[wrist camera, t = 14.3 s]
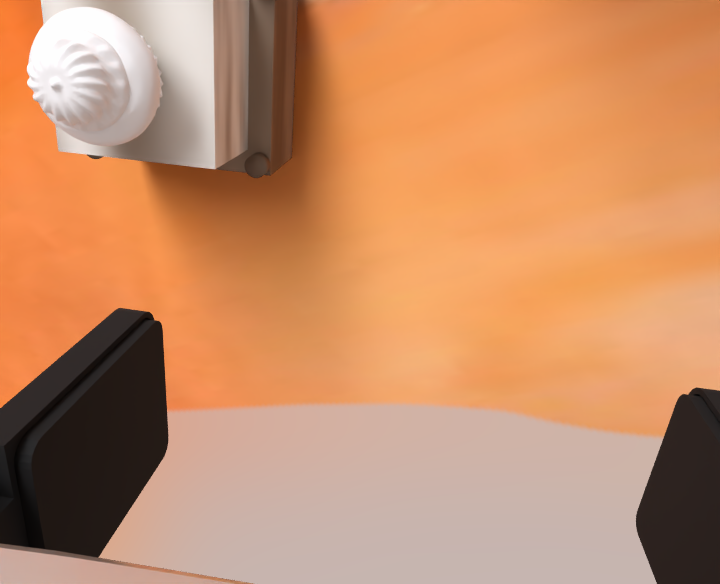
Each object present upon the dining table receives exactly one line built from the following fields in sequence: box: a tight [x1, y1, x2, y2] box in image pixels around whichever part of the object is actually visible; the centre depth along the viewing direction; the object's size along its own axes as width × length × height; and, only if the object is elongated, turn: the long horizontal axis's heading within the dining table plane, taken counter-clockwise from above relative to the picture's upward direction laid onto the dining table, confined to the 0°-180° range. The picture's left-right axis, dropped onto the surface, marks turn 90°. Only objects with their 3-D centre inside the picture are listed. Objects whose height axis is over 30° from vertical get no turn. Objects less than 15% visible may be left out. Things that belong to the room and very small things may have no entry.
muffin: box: [27, 7, 163, 146], centre depth 28 cm, size 6×6×7 cm
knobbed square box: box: [41, 0, 298, 178], centre depth 37 cm, size 12×12×12 cm
